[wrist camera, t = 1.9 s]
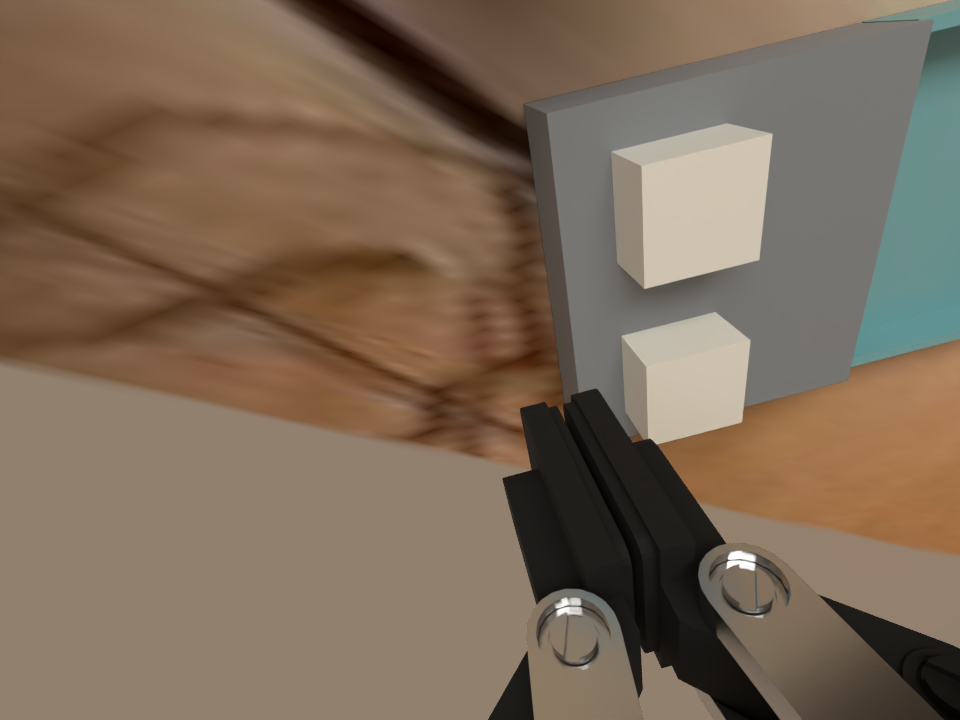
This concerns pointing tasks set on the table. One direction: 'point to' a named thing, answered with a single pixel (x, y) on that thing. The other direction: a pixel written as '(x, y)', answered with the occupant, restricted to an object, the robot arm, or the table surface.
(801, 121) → the plate
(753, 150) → the beige block
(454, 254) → the table surface
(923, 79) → the box
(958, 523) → the table surface
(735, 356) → the beige block
